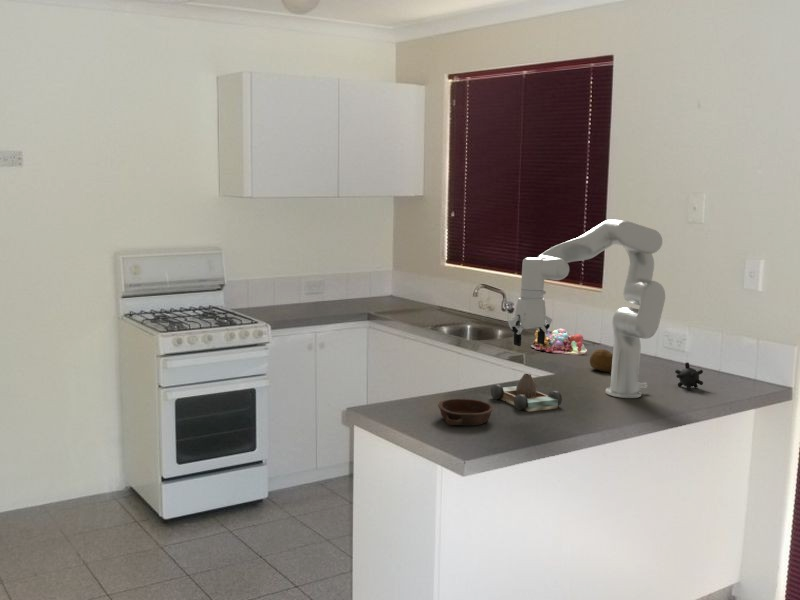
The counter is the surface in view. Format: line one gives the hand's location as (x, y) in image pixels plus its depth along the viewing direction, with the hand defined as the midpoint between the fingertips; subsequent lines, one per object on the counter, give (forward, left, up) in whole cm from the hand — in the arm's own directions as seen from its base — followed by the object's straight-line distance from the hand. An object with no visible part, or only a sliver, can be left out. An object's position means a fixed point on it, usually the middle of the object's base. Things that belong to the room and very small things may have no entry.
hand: (529, 344), depth 294 cm
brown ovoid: (0, 0, -19) cm, 19 cm away
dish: (+31, +11, -21) cm, 39 cm away
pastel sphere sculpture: (-69, -71, -21) cm, 102 cm away
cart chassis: (0, 0, -20) cm, 20 cm away
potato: (-59, -29, -20) cm, 69 cm away
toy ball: (-72, +4, -20) cm, 75 cm away
